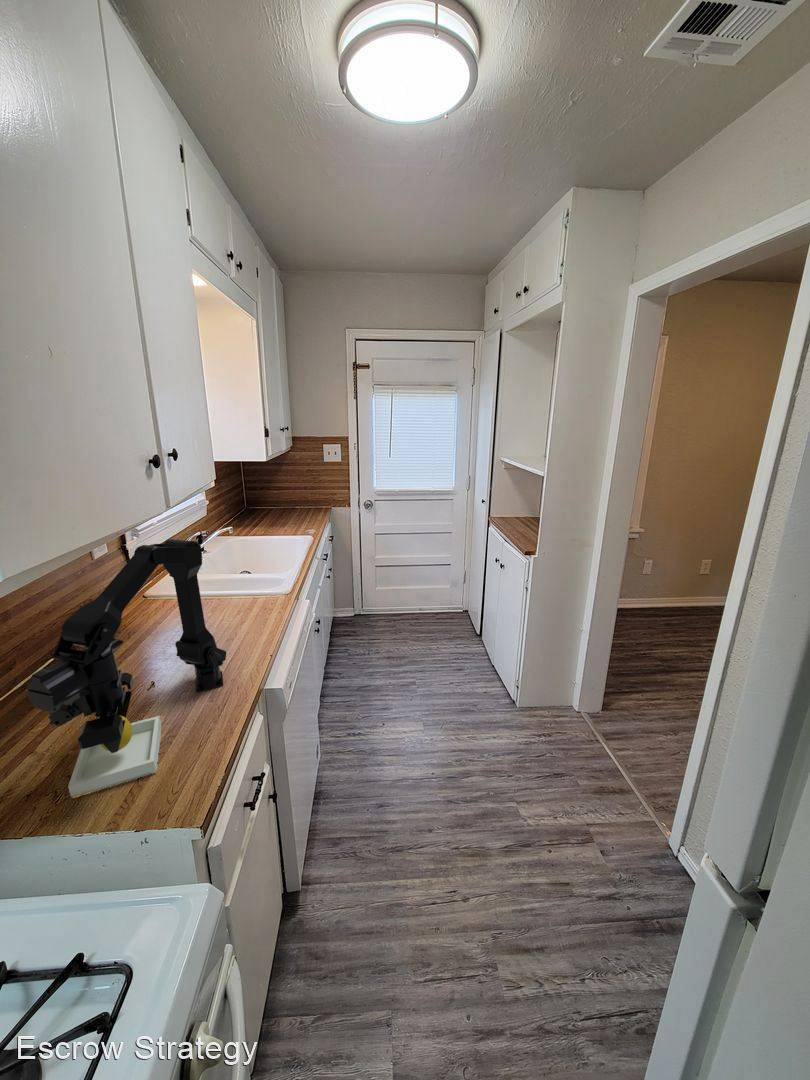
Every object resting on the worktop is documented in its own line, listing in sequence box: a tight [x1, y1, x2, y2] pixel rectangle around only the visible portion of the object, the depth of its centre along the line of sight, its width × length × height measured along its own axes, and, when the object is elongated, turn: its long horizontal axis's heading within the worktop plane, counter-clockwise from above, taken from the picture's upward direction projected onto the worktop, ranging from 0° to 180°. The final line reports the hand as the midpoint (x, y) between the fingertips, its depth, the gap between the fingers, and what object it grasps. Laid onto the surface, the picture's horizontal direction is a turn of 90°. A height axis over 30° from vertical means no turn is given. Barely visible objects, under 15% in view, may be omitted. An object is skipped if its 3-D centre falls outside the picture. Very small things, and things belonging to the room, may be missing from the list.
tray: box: [67, 715, 162, 798], centre depth 86 cm, size 14×14×3 cm
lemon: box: [100, 716, 132, 751], centre depth 84 cm, size 6×6×8 cm
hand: (117, 741), depth 85 cm, fingers closed on lemon, 5 cm apart
